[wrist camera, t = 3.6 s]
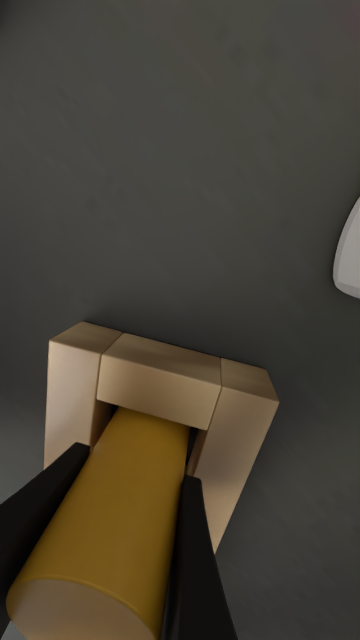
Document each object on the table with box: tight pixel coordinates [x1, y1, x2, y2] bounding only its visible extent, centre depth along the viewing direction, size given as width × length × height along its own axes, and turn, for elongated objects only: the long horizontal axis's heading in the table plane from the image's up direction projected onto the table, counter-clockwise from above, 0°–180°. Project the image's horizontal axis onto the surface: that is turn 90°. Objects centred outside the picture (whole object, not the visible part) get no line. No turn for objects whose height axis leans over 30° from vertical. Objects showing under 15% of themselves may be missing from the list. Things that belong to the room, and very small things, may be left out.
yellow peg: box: [6, 406, 190, 640], centre depth 9 cm, size 4×4×8 cm
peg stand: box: [44, 321, 279, 555], centre depth 13 cm, size 9×16×2 cm, turn 168°
